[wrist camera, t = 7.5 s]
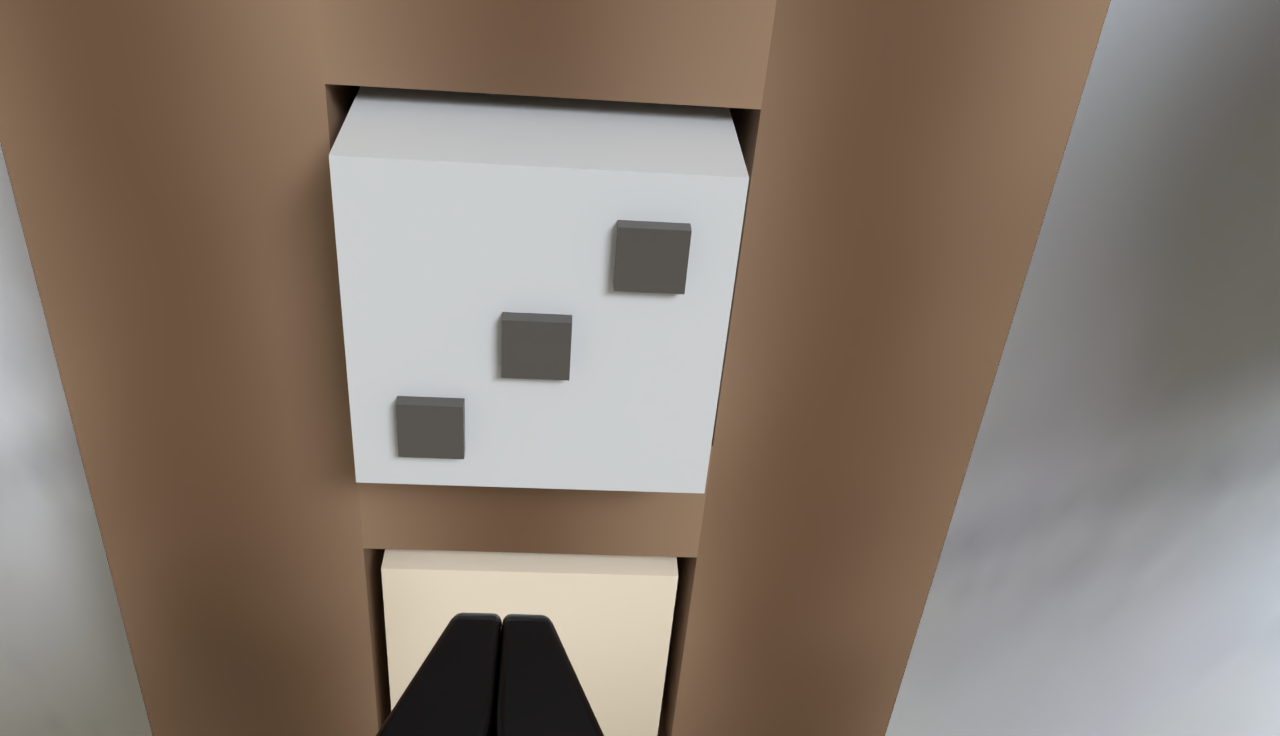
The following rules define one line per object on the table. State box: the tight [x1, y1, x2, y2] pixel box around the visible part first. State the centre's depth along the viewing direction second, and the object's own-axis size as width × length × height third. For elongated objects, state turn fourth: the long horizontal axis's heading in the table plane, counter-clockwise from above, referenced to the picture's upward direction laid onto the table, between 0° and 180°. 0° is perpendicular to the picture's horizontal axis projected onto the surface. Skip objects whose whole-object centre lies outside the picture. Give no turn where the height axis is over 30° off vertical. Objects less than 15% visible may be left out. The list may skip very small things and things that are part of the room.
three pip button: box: [329, 86, 749, 494], centre depth 16 cm, size 5×5×3 cm
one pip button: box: [381, 549, 678, 736], centre depth 22 cm, size 5×5×3 cm
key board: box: [0, 0, 1111, 736], centre depth 17 cm, size 14×24×3 cm, turn 176°
